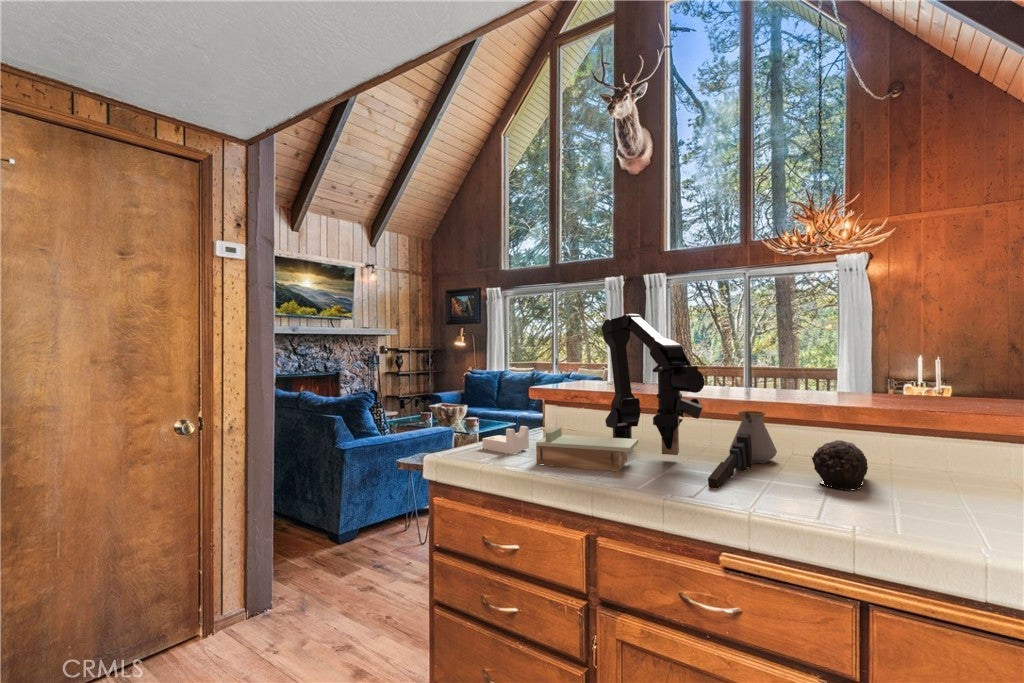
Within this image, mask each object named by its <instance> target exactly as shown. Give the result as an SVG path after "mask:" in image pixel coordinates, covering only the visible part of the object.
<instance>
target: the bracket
mask: <svg viewBox="0 0 1024 683" xmlns="http://www.w3.org/2000/svg"><path fill="white" fill-rule="evenodd" d="M529 428H530V427H529V426H526V425H520V427H519V430H518V433H517V434H516V432H515V429H514V428H506V429H505V435H500V434H499V435H492V436H488V437H483V438H482V439H481V440H482V449H483V448H484V449H483V450H486V449H488V450H487V451H491V450H492V452H496V451H498V453H501V452H505V453H504V454H507V453H511V454H510V455H512V454H513V455H515V454H514V453H517V454H519V453H518V452H521V453H522V451H525V450H528V449H530V438H529V437H530V436H529V435H530V434H529V432H530V430H529Z"/></svg>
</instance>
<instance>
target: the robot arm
mask: <svg viewBox="0 0 1024 683" xmlns="http://www.w3.org/2000/svg"><path fill="white" fill-rule="evenodd" d="M601 331H602V332H601V333H602V336H603V340H604V342H605V343H606V345H607V346H608V348H609V351H610V359H611V360H610V361H611V367H612V368H611V369H612V377H613V387H614V388H613V389H614V396H613V399H612V400H611V403H610V407H611V408H610V412H609V413H608V415H607V417H606V418H605V426H606V428H610V429H612V438H627V439H633V438H632V436H633V435H632V434H633V431H632V427H638V426H639V422H640V417H641V412H642V409H641V403H640V398H639V397H636V396H635V395H634V394H633V393H632V385H631V376H630V375H631V374H630V369H629V358H628V351H627V349H628V348H627V345H628V343H629V341H630V340H631V333H633V335H634V336H635V337H636V338H638V339H639V340H640V342H642V343H643V344H644V345H645V346H646V347H647V348H648V349H649V356H651V358H652V359H653V361H654V363H656V364H657V365H656V366H655V367H654V368H653V369H652V373H657V393H656V399H657V398H658V399H657V401H658V402H657V403H658V406H657V407H658V408H657V410H656V414H655V415H654V416H653V417H652V425H653V426H655V427H656V428H657V431H658V432H659V434H660V436H661V440H662V439H663V441H664V443H665V446H666V448H667V449H671V447H672V442H673V436H674V430H675V429H676V428H677V427H678V428H679V427H680V425H681V423H682V422H683V418H684V417H685V415H688V416H691V417H692V418H694V419H699V418H700V417H701V413H702V411H703V408H704V406H703V405H702V404H700V400H699V399H698V398H695V397H693V398H691V399H690V400H689V399H686V398H683V393H682V392H685V393H693V394H697V393H700V392H701V391H702V390H703V388H704V386H705V377H704V375H703V374H702V372H701V371H699V366H698V365H692V364H691V361H690V360H689V358H688V357H687V354H686V353H685V351H684V347H683V346H682V345H681V343H679V342H677V341H674V340H673V339H670V338H666V337H665V336H662V335H661V334H660V333H659V332H658V331H656V329H655V328H654V327H652V326H651V325H650V324H648V322H647V321H645V320H644V319H643V317H642V316H641V315H640V314H638V313H626V314H624V315H621V316H619V317H615V318H608V319H605V320H604V321H603V323H602V325H601ZM680 417H681V418H680Z"/></svg>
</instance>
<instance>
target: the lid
mask: <svg viewBox="0 0 1024 683" xmlns="http://www.w3.org/2000/svg"><path fill="white" fill-rule="evenodd" d="M562 433H563V432H562V427H560V426H559V427H554V428H551V429H549V430H548V431H545V437H543V438H540V439H539V440H537V441H536V442H535V445H536V446H546V447H562V448H577V449H593V450H608V451H624V452H627V453H630V452H632V450H633V449H634V448H635V447H636V446H637V445H638V443H639V438H632V439H627V438H613V437H607V436H606V437H604V436H589V435H588V436H587V435H569V434H562ZM536 446H535V447H536Z"/></svg>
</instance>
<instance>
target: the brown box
mask: <svg viewBox="0 0 1024 683" xmlns="http://www.w3.org/2000/svg"><path fill="white" fill-rule="evenodd" d="M535 447H536V448H535V450H536V451H535V452H536V453H535V454H536V456H535V457H536V465H537V464H544V465H543V466H545V465H553V466H552V467H558V466H561V467H560V468H570V467H573V468H574V469H585V470H596V469H598V470H599V471H608V470H612V471H611V472H619V471H620V470H621V469H622V468H623V467H624V466H625V464H626V463H627V462H628V452H624V451H608V450H593V449H577V448H562V447H546V446H535ZM622 466H623V467H622ZM621 467H622V468H621ZM620 468H621V469H620ZM613 470H614V471H613Z"/></svg>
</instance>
